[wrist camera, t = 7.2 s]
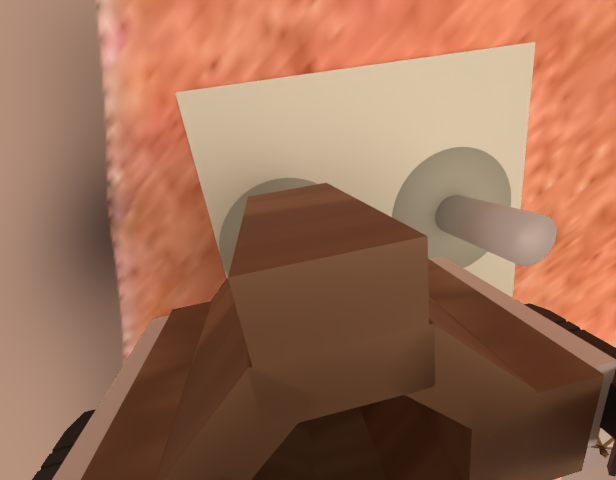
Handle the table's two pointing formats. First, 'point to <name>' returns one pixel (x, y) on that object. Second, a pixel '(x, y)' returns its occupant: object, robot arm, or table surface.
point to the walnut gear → (347, 366)
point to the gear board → (384, 150)
